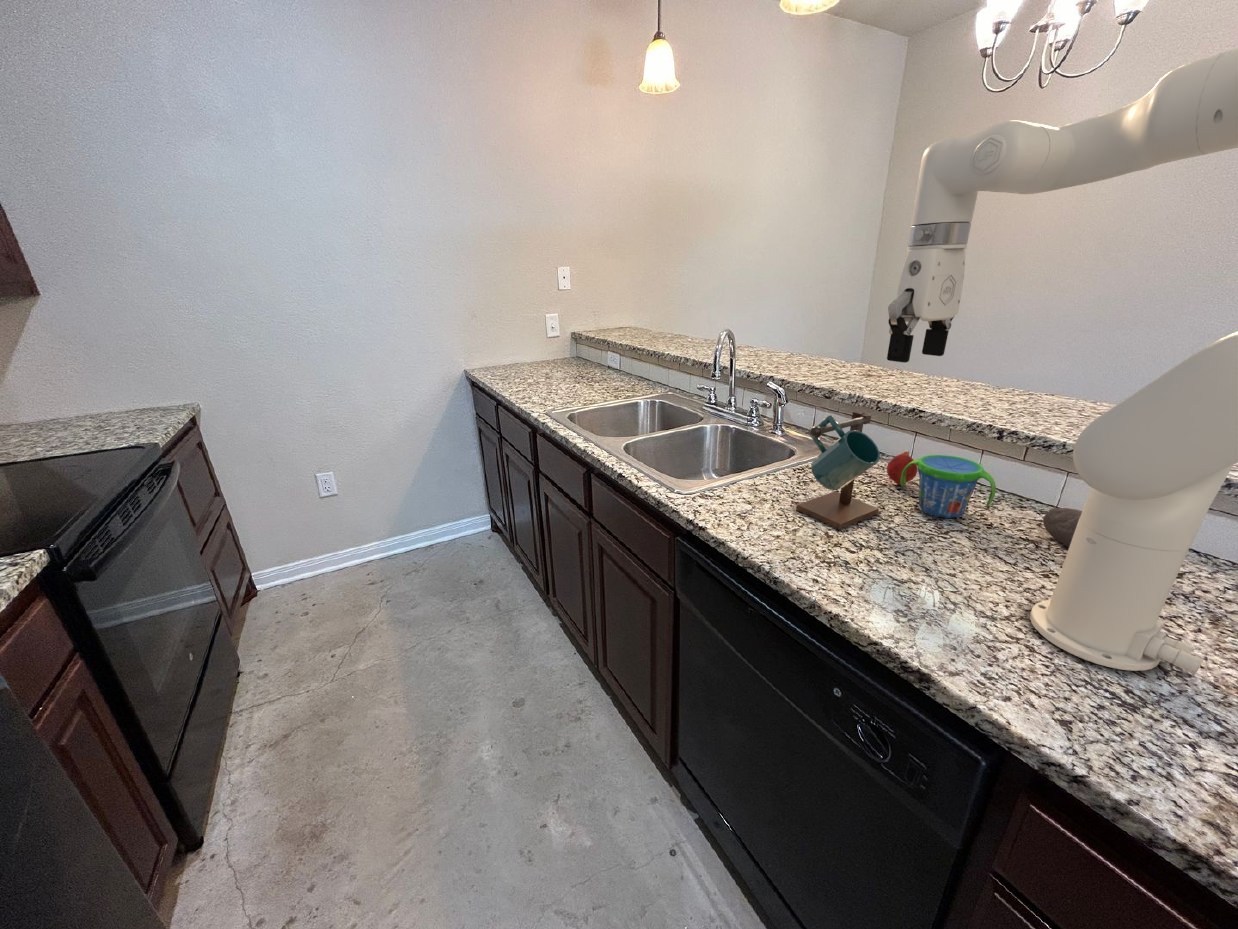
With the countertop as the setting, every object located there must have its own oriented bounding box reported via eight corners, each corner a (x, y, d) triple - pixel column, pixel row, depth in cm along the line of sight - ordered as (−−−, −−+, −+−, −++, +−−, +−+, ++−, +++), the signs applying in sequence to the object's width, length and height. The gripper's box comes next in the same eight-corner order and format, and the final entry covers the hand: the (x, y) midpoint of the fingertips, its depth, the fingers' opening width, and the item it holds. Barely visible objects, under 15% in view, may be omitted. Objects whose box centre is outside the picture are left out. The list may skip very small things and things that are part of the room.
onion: (887, 488, 110) (893, 454, 107) (882, 478, 115) (888, 445, 112) (916, 491, 108) (923, 456, 105) (910, 481, 113) (917, 447, 110)
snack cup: (887, 506, 101) (896, 459, 98) (909, 491, 108) (918, 447, 104) (975, 534, 90) (989, 482, 86) (994, 516, 96) (1008, 467, 93)
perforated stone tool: (1028, 531, 91) (1038, 496, 88) (1054, 529, 91) (1065, 494, 89) (1113, 577, 77) (1129, 538, 74) (1143, 575, 77) (1160, 535, 75)
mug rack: (878, 513, 98) (896, 416, 91) (817, 538, 90) (832, 432, 83) (834, 496, 106) (847, 405, 99) (775, 517, 98) (785, 419, 91)
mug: (850, 485, 90) (887, 459, 83) (825, 494, 87) (862, 468, 80) (815, 435, 95) (847, 406, 88) (790, 441, 91) (822, 412, 84)
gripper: (931, 236, 65) (907, 367, 71) (995, 238, 73) (969, 355, 79) (877, 240, 71) (859, 360, 77) (942, 241, 79) (921, 350, 85)
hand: (915, 358), depth 78 cm, fingers open, 9 cm apart
